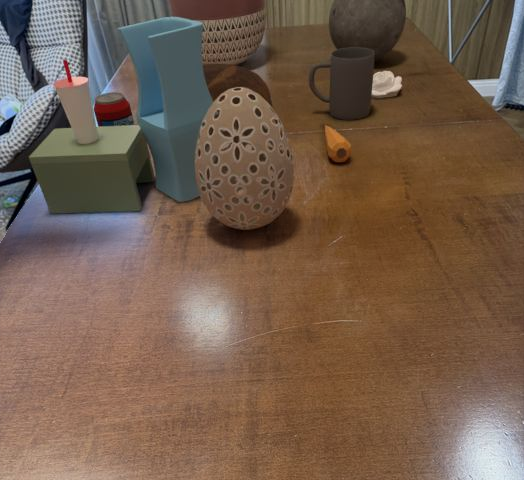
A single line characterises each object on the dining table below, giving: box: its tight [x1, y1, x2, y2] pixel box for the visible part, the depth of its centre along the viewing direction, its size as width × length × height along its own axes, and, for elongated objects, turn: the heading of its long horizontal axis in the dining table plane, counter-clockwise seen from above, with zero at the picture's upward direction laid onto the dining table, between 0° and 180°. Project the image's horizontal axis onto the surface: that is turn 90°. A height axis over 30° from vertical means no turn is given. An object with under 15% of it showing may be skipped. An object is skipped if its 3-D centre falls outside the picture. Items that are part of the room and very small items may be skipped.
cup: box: [52, 59, 98, 144], centre depth 80 cm, size 5×5×12 cm
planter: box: [167, 0, 267, 66], centre depth 138 cm, size 27×27×27 cm
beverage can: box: [93, 91, 135, 127], centre depth 97 cm, size 7×7×12 cm
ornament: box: [195, 87, 295, 231], centre depth 74 cm, size 15×15×20 cm
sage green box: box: [28, 124, 156, 215], centre depth 87 cm, size 16×12×10 cm
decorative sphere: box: [328, 0, 407, 62], centre depth 133 cm, size 20×20×20 cm
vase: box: [117, 16, 220, 203], centre depth 83 cm, size 10×10×25 cm
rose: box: [371, 70, 403, 99], centre depth 120 cm, size 10×4×10 cm
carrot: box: [324, 124, 352, 163], centre depth 100 cm, size 20×4×4 cm, turn 4°
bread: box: [203, 64, 272, 116], centre depth 117 cm, size 28×27×9 cm
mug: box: [308, 47, 375, 121], centre depth 109 cm, size 14×9×12 cm
